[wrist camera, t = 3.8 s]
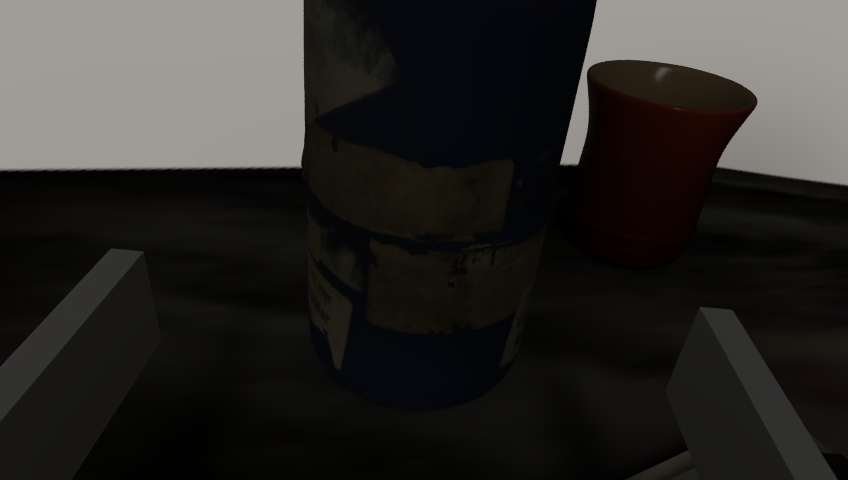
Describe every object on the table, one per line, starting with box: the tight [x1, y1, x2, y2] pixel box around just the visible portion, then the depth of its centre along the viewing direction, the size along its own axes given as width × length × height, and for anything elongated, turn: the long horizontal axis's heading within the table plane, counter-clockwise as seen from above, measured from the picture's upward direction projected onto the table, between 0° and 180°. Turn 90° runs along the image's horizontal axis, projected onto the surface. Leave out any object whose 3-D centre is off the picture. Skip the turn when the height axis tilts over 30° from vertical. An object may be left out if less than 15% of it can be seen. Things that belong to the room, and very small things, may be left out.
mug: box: [568, 60, 757, 269], centre depth 35 cm, size 12×9×10 cm
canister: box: [301, 0, 597, 410], centre depth 23 cm, size 10×10×18 cm
